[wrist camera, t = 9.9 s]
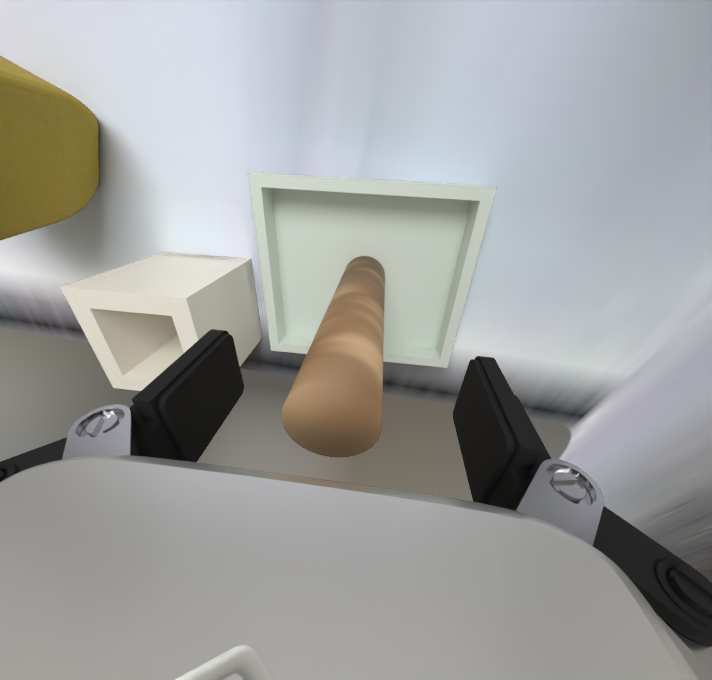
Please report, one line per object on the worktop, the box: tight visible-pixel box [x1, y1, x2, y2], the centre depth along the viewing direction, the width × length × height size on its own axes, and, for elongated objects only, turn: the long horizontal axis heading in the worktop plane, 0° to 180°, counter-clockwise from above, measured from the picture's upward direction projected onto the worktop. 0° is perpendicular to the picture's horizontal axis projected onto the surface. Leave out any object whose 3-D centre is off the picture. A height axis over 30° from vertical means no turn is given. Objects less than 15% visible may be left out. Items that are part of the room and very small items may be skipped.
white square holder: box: [60, 252, 262, 391], centre depth 22 cm, size 8×8×9 cm
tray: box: [248, 173, 497, 368], centre depth 22 cm, size 16×14×3 cm
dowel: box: [281, 256, 385, 457], centre depth 16 cm, size 3×3×16 cm
